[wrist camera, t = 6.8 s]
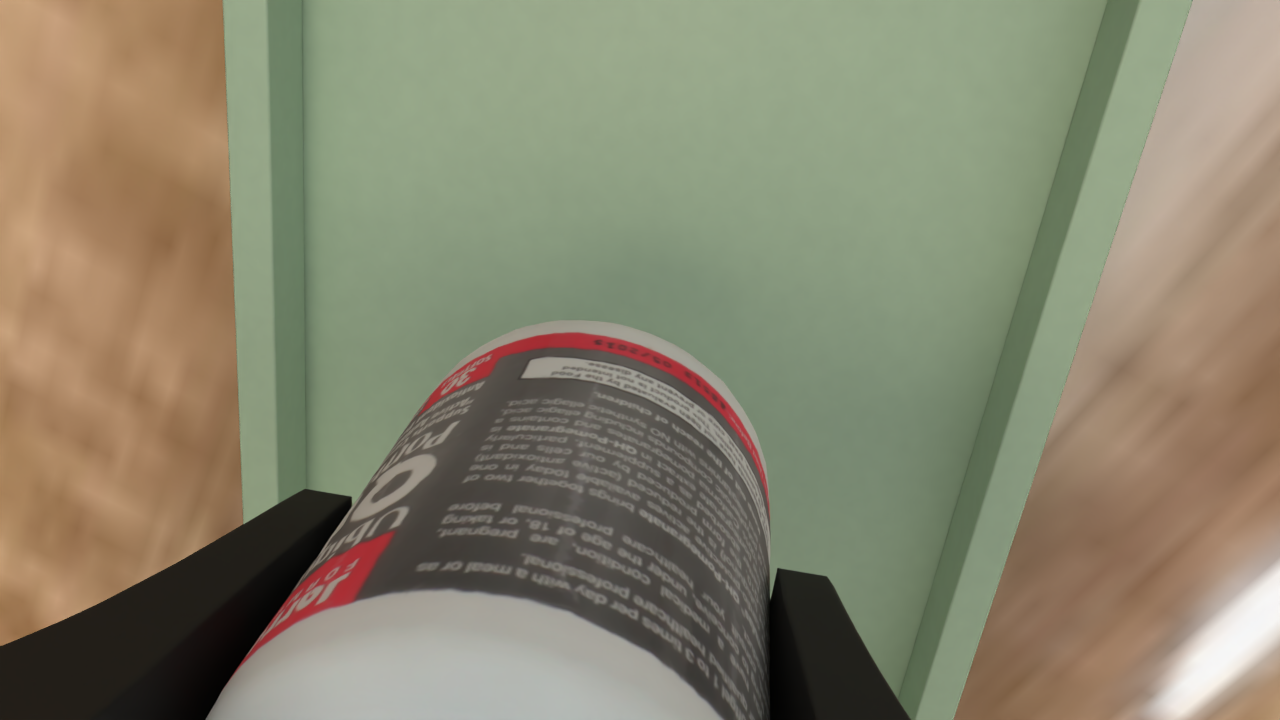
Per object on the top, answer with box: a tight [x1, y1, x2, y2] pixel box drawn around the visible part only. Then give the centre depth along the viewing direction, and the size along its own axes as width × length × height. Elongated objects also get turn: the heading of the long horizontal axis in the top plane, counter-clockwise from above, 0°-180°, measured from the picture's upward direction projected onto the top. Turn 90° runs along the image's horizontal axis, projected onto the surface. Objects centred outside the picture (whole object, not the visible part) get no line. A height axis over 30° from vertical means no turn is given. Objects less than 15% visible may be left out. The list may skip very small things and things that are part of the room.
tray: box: [223, 0, 1193, 720], centre depth 20 cm, size 20×16×2 cm
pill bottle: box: [206, 320, 771, 720], centre depth 11 cm, size 5×5×10 cm
